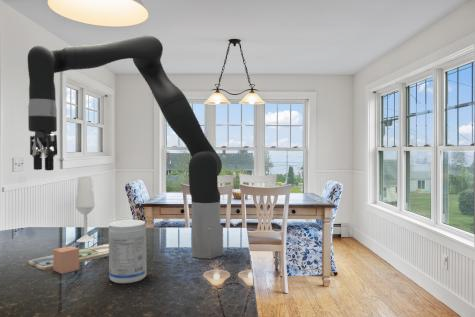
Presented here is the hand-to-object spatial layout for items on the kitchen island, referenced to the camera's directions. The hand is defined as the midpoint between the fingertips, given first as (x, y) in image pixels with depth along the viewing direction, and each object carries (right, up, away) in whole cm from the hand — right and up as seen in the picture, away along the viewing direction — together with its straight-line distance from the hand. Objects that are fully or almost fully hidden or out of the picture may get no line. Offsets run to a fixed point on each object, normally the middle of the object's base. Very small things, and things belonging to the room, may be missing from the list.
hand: (43, 170), depth 113 cm
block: (+9, -28, -6) cm, 30 cm away
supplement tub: (+29, -28, -13) cm, 43 cm away
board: (+8, -28, +8) cm, 30 cm away
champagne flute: (0, -28, +31) cm, 42 cm away
